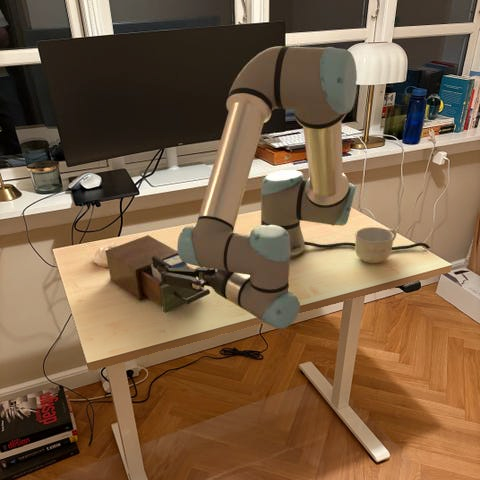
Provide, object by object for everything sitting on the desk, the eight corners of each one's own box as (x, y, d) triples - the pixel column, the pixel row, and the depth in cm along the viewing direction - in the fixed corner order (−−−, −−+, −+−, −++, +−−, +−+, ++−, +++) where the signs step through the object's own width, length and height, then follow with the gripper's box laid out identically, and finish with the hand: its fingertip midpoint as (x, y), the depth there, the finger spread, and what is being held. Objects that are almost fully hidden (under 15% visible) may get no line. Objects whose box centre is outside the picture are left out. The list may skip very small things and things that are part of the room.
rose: (102, 237, 149) (130, 241, 147) (104, 250, 151) (133, 254, 149) (84, 252, 141) (115, 256, 139) (87, 265, 144) (117, 269, 141)
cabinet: (182, 282, 135) (179, 252, 130) (140, 301, 128) (135, 269, 122) (151, 263, 144) (148, 235, 139) (110, 280, 137) (105, 250, 131)
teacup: (365, 269, 140) (369, 244, 135) (345, 253, 148) (348, 229, 143) (406, 260, 144) (411, 236, 139) (384, 245, 152) (388, 221, 147)
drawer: (219, 303, 124) (218, 278, 120) (179, 323, 117) (177, 297, 113) (173, 276, 136) (171, 252, 132) (135, 292, 129) (131, 268, 125)
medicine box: (163, 300, 124) (160, 270, 119) (154, 293, 127) (150, 263, 122) (189, 289, 128) (186, 260, 123) (180, 283, 131) (177, 254, 126)
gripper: (191, 322, 100) (135, 283, 113) (276, 279, 113) (217, 249, 126) (189, 291, 95) (130, 254, 108) (277, 250, 109) (216, 222, 122)
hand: (177, 251), depth 117 cm, fingers open, 13 cm apart
